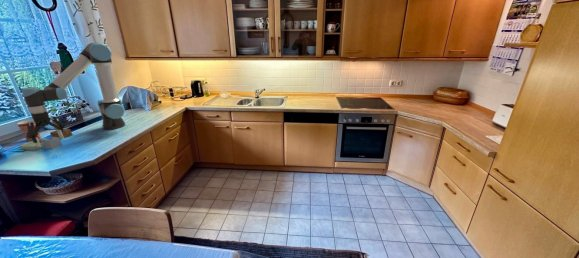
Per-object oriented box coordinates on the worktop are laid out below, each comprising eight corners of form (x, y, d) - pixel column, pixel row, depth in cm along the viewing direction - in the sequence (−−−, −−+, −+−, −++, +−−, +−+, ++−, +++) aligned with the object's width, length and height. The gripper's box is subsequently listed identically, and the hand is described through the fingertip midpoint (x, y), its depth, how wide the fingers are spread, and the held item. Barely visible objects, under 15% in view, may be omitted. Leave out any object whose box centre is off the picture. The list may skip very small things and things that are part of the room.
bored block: (64, 134, 182) (61, 128, 180) (72, 135, 180) (70, 129, 178) (52, 138, 174) (49, 132, 173) (61, 139, 173) (58, 133, 171)
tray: (42, 142, 169) (40, 138, 168) (55, 143, 167) (53, 139, 166) (21, 149, 158) (19, 145, 157) (35, 151, 156) (33, 146, 155)
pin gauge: (63, 136, 179) (55, 118, 174) (66, 136, 178) (59, 118, 173) (58, 137, 176) (51, 119, 171) (62, 138, 176) (54, 120, 170)
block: (55, 145, 164) (52, 137, 162) (62, 145, 163) (59, 137, 161) (45, 148, 159) (41, 140, 157) (52, 149, 158) (49, 141, 156)
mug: (22, 140, 172) (13, 123, 167) (38, 136, 180) (30, 119, 175) (32, 143, 168) (24, 125, 163) (48, 138, 176) (40, 120, 171)
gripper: (55, 106, 164) (66, 135, 172) (9, 117, 141) (24, 150, 149) (64, 107, 163) (74, 135, 170) (18, 118, 140) (33, 151, 147)
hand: (51, 142), depth 159 cm, fingers open, 13 cm apart
